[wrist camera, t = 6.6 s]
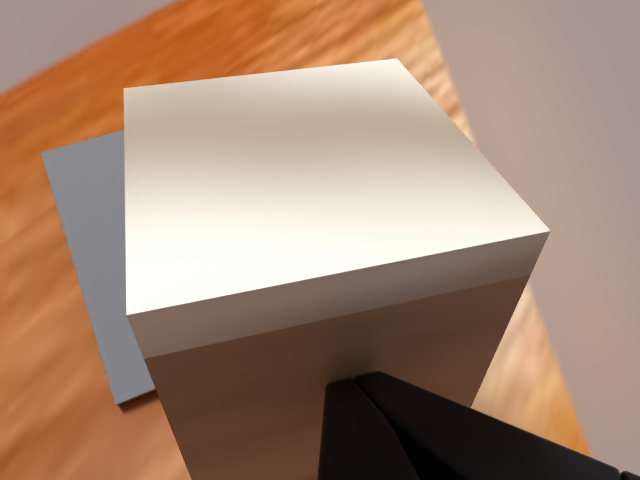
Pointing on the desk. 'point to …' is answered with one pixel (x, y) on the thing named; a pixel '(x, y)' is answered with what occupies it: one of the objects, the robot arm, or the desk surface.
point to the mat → (100, 250)
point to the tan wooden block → (309, 254)
